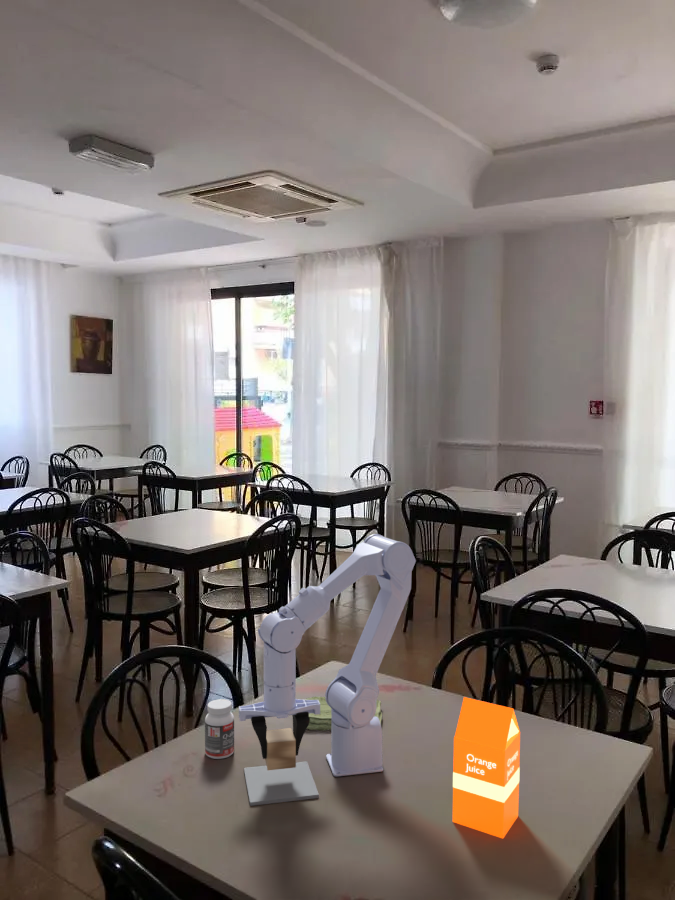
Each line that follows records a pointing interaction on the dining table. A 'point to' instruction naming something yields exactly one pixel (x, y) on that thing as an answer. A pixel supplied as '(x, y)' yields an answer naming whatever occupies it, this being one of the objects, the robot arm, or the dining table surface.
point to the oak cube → (280, 749)
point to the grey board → (279, 784)
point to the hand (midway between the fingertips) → (279, 754)
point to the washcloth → (329, 715)
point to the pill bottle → (219, 729)
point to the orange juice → (486, 767)
